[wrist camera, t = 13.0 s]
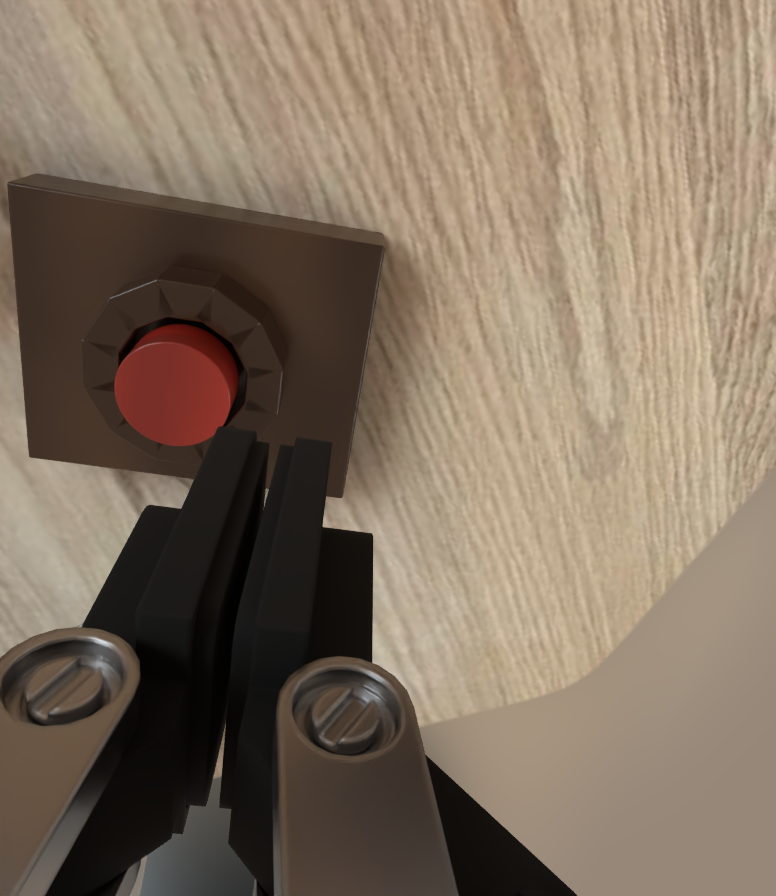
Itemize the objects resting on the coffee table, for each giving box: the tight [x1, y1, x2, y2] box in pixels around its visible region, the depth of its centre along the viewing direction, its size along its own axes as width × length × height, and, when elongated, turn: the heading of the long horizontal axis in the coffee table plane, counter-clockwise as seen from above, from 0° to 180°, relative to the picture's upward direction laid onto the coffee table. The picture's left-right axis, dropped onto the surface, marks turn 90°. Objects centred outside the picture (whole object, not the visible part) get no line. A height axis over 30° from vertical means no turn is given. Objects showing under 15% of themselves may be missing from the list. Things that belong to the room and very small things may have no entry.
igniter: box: [7, 173, 385, 498], centre depth 25 cm, size 12×10×4 cm
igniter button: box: [114, 324, 239, 446], centre depth 23 cm, size 4×4×2 cm
